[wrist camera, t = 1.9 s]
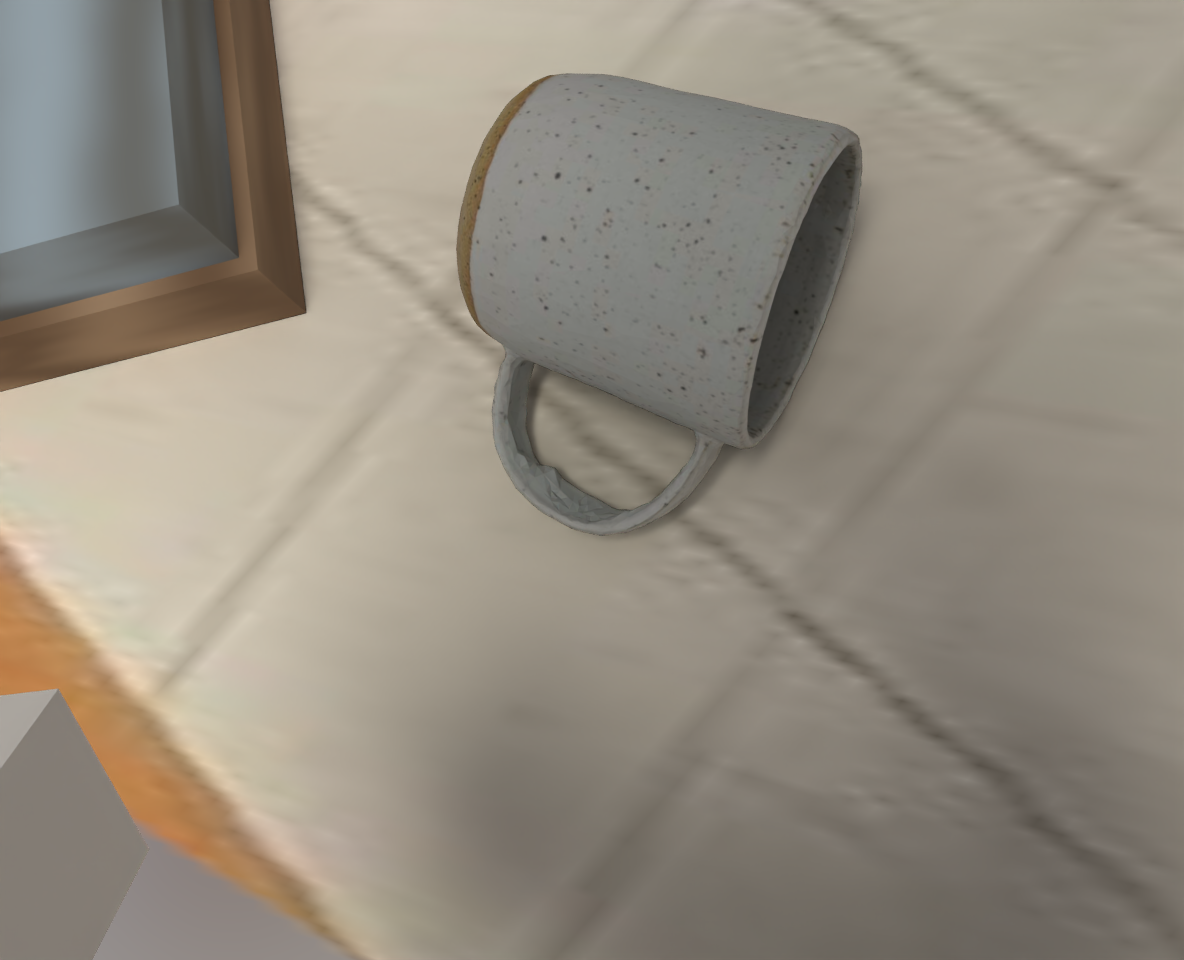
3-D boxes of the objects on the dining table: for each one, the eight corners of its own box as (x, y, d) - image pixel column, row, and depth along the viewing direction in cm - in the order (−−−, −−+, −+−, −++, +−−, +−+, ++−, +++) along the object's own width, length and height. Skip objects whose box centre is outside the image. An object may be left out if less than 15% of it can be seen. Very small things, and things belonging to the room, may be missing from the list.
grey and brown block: (258, -91, 36) (156, -250, 30) (305, 312, 32) (199, 217, 26) (-136, 31, 38) (-301, -97, 32) (-139, 427, 34) (-328, 361, 28)
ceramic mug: (592, 152, 32) (528, -23, 24) (862, 231, 29) (881, 65, 22) (447, 482, 30) (331, 402, 23) (720, 590, 28) (689, 540, 21)
